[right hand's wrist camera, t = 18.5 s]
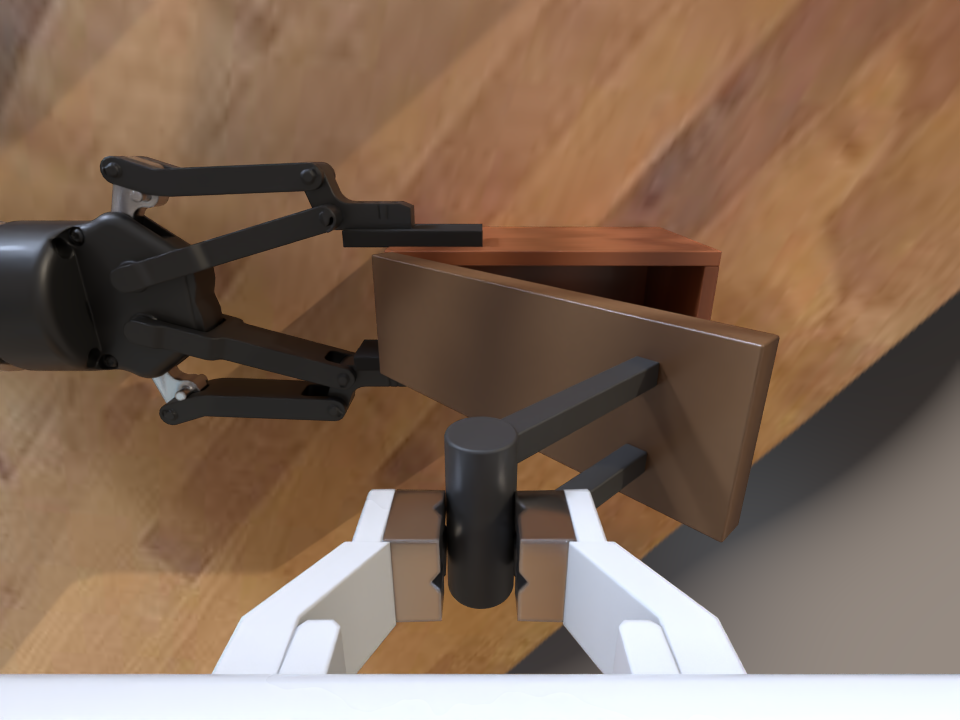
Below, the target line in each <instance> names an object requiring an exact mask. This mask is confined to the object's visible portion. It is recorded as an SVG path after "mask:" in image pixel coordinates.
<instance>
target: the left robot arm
mask: <svg viewBox="0 0 960 720" xmlns="http://www.w3.org/2000/svg"><path fill="white" fill-rule="evenodd" d="M100 171H101V173H102V175H103V177H104V178H105V179H106V180H107V181H108V182H110V183H112V184H113V194H112V210H111V212H107V213H104V214H102V215H100V216H99V217H97V218H96V219H94V220H92V221H12V222H3V221H0V371H17V370H24V369H26V370H34V371H98V370H113V369H121V370H126V371H129V372H132V373H134V374H136V375H138V376H141V377H144V378H152V379H153V381H154V383H155V385H156V386H157V388H158V390H159V391H160V393H161V395H162V396H163V398H164V400H165V402H166V404H165V405H164V406H163V407H161V409H160V412H159V415H160V417H161V419H162V420H163V421H164V422H165V423H167V424H170V425H177V424H180V423H183V422H187V421H190V420H193V419H197V418H200V417H203V416H215V417H242V418H268V419H295V420H322V421H338V420H340V419H342V418H343V417H344V415H345V413H346V412H347V410H348V408H349V406H350V404H351V402H352V400H353V398H354V396H355V391H356V389H357V388H360V387H365V386H391V387H397V386H399V387H407V386H405V385H403V384H401V383H399V382H397V381H395V380H393V379H391V378H389V377H387V376H385V375H383V374H381V373H380V362H379V348H378V340H364V341H363V343H362V344H361V346H360V347H359V348H358V350H357V351H356V353H354V352H350V351H347V350H343V349H339V348H335V347H332V346H328V345H324V344H320V343H316V342H313V341H309V340H305V339H301V338H298V337H294V336H290V335H286V334H282V333H279V332H275V331H271V330H267V329H264V328H260V327H256V326H252V325H248V324H245V323H244V322H243V320H241V319H239V318H236V317H232V316H228V315H225V314H222V312H221V307H220V304H219V302H218V300H217V298H216V296H215V293H214V287H215V273H214V268H213V267H214V266H217V265H220V264H224V263H227V262H230V261H234V260H237V259H240V258H243V257H247V256H250V255H253V254H257V253H260V252H263V251H267V250H270V249H273V248H277V247H280V246H283V245H286V244H290V243H293V242H296V241H300V240H303V239H306V238H310V237H313V236H316V235H320V234H323V233H326V232H327V233H328V232H330V231H332V230H343V231H342V236H343V247H483V228H482V224H415V220H414V205H411V204H409V203H407V202H404V201H352V200H349V199H347V198H346V197H345V196H344V195H343V194H342V193H341V191H340V189H339V187H338V184H337V182H336V180H335V172H334V169H333V168H332V167H331V166H330V165H329V164H327V163H324V162H307V163H283V164H260V165H236V166H212V167H189V168H180V167H177V166H174V165H171V164H168V163H164V162H161V161H158V160H155V159H152V158H149V157H144V156H108V157H105V158H104V159H103V160H102V161H101V164H100ZM295 191H305V193H306V195H307V197H308V200H309V202H310V204H311V206H312V208H311V209H307V210H304V211H301V212H298V213H294V214H291V215H288V216H285V217H281V218H278V219H275V220H272V221H268V222H265V223H262V224H259V225H255V226H252V227H249V228H246V229H242V230H239V231H236V232H233V233H229V234H226V235H223V236H220V237H216V238H213V239H210V240H207V241H203V242H200V243H197V244H194V245H190V244H188V243H187V242H185V241H184V240H182V239H181V238H179V237H177V236H176V235H174V234H173V233H171V232H170V231H168V230H166V229H165V228H163V227H162V226H160V225H159V224H157V223H156V222H154V221H152V220H151V219H149V218H148V217H146V216H145V215H144V213H145V211H146V209H147V208H151V207H157V206H162V205H164V204H166V203H167V201H168V199H169V197H175V196H199V195H223V194H247V193H271V192H295ZM189 356H193V357H197V358H201V359H205V360H219V359H223V360H227V361H231V362H235V363H239V364H243V365H247V366H251V367H255V368H258V369H262V370H266V371H270V372H274V373H278V374H282V375H286V376H290V377H294V378H297V379H301V380H305V381H298V380H273V379H247V378H219V379H213V380H209V381H208V379H207V377H206V376H205V375H203V374H200V375H197V374H186V373H183V372H182V371H181V370H179V368H178V367H177V365H178V364H180V363H181V362H182V361H183V360H185V359H186V358H187V357H189Z"/></svg>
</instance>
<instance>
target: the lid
mask: <svg viewBox="0 0 960 720" xmlns="http://www.w3.org/2000/svg"><path fill="white" fill-rule="evenodd" d="M372 265H373V279H374V293H375V307H376V321H377V334H378V348H379V362H380V373H381V374H383V375H385V376H387V377H389V378H391V379H393V380H395V381H397V382H399V383H401V384H403V385H405V386H407V387H409V388H411V389H413V390H415V391H417V392H419V393H421V394H423V395H425V396H427V397H429V398H431V399H433V400H435V401H437V402H439V403H441V404H443V405H445V406H447V407H449V408H451V409H453V410H455V411H457V412H459V413H461V414H463V415H465V416H467V417H469V418H465V419H461V420H459V421H456V422H454V423H453V424H451V425H450V426H449V427H448V428H447V430H446V432H445V435H444V443H445V482H446V521H447V559H448V586H449V590H450V592H451V594H452V595H453V597H454V598H455V599H456V600H457V601H458V602H460V603H461V604H463V605H465V606H467V607H471V608H476V609H486V608H491V607H494V606H497V605H499V604H501V603H502V602H504V601H505V600H506V599H507V598H508V596H509V595H510V593H511V592H512V589H513V582H514V573H513V535H514V532H515V527H514V497H515V491H516V490H517V463H519V462H521V461H523V460H525V459H526V458H528V457H530V456H532V455H534V454H535V453H537V452H540V453H542V454H544V455H546V456H548V457H550V458H552V459H554V460H556V461H558V462H560V463H562V464H564V465H566V466H568V467H570V468H572V469H574V470H576V471H578V472H580V474H579V475H577V476H576V477H574V478H573V479H571V480H570V481H568V482H567V483H565V484H563V485H562V486H560V487H559V488H557V489H556V490H567V489H588V490H589V491H590V493H591V496H592V498H593V501H594V504H595V507H596V508H597V507H599V506H600V505H601V504H603V503H604V502H605V501H607V500H608V499H609V498H611V497H612V496H613V495H615V494H616V493H617V492H620V493H622V494H624V495H626V496H628V497H630V498H632V499H634V500H636V501H639V502H641V503H643V504H645V505H647V506H649V507H651V508H653V509H655V510H657V511H659V512H661V513H663V514H665V515H667V516H669V517H671V518H673V519H675V520H677V521H679V522H681V523H683V524H685V525H687V526H689V527H691V528H693V529H695V530H697V531H699V532H701V533H703V534H705V535H707V536H709V537H711V538H713V539H715V540H717V541H719V542H723V541H724V540H725V539H726V537H727V536H728V535H729V534H730V533H731V532H732V531H733V530H734V529H735V527H736V526H737V525H738V523H739V518H740V514H741V509H742V504H743V500H744V496H745V491H746V487H747V482H748V477H749V473H750V469H751V464H752V460H753V455H754V451H755V446H756V442H757V437H758V433H759V428H760V424H761V419H762V415H763V410H764V405H765V401H766V396H767V392H768V387H769V383H770V378H771V374H772V369H773V365H774V360H775V356H776V351H777V347H778V342H779V336H778V335H775V334H770V333H766V332H761V331H756V330H752V329H747V328H742V327H738V326H733V325H728V324H724V323H719V322H715V321H710V320H705V319H701V318H696V317H691V316H687V315H682V314H677V313H673V312H668V311H663V310H659V309H654V308H649V307H645V306H640V305H635V304H631V303H626V302H622V301H617V300H612V299H608V298H603V297H598V296H594V295H589V294H584V293H580V292H575V291H570V290H566V289H561V288H556V287H552V286H547V285H543V284H538V283H533V282H529V281H524V280H519V279H515V278H510V277H505V276H501V275H496V274H491V273H487V272H482V271H477V270H473V269H468V268H464V267H459V266H454V265H450V264H445V263H440V262H436V261H431V260H426V259H422V258H417V257H412V256H408V255H403V254H398V253H394V252H389V253H381V254H374V255H372Z"/></svg>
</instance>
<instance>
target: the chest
mask: <svg viewBox="0 0 960 720" xmlns="http://www.w3.org/2000/svg"><path fill="white" fill-rule="evenodd" d="M482 228H483V247H388V248H387V249H386V250H385V251H384V253H389V252H394V253H398V254H403V255H408V256H412V257H417V258H422V259H426V260H431V261H436V262H440V263H445V264H450V265H454V266H459V267H464V268H468V269H473V270H477V271H482V272H487V273H491V274H496V275H501V276H505V277H510V278H515V279H519V280H524V281H529V282H533V283H538V284H543V285H547V286H552V287H556V288H561V289H566V290H570V291H575V292H580V293H584V294H589V295H594V296H598V297H603V298H608V299H612V300H617V301H622V302H626V303H631V304H635V305H640V306H645V307H649V308H654V309H659V310H663V311H668V312H673V313H677V314H682V315H687V316H691V317H696V318H701V319H705V320H710V319H711V313H712V307H713V301H714V295H715V289H716V283H717V277H718V271H719V265H720V259H721V253H722V252H721V251H719V250H716V249H714V248H711V247H709V246H706V245H703V244H701V243H698V242H696V241H693V240H691V239H688V238H686V237H683V236H680V235H678V234H675V233H673V232H670V231H668V230H665V229H663V228H660V227H482Z"/></svg>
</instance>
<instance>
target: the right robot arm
mask: <svg viewBox="0 0 960 720" xmlns="http://www.w3.org/2000/svg"><path fill="white" fill-rule="evenodd" d="M445 518H446V493H445V490H408V489H397V490H395V489H372V490H371V491H370V492H369V493H368V496H367V499H366V502H365V504H364V507H363V510H362V513H361V516H360V519H359V522H358V525H357V528H356V531H355V534H354V537H353V540H352V542H344V543H342V544H341V545H339V546H338V547H337V548H335V549H334V550H333V551H331V552H330V553H329V554H327V555H326V556H324V557H323V558H322V559H320V560H319V561H318V562H316V563H315V564H314V565H312V566H311V567H309V568H308V569H307V570H305V571H304V572H303V573H301V574H300V575H299V576H297V577H296V578H294V579H293V580H292V581H290V582H289V583H288V584H286V585H285V586H284V587H282V588H281V589H280V590H278V591H277V592H275V593H274V594H273V595H271V596H270V597H269V598H267V599H266V600H265V601H263V602H262V603H260V604H259V605H258V606H256V607H255V608H254V609H252V610H251V611H250V612H248V613H247V614H245V615H244V616H243V617H241V619H240V621H239V623H238V625H237V627H236V629H235V631H234V633H233V634H232V636H231V638H230V640H229V642H228V644H227V646H226V648H225V650H224V651H223V653H222V655H221V657H220V659H219V661H218V663H217V665H216V667H215V668H214V670H213V672H212V674H0V720H960V674H747V673H746V671H745V669H744V667H743V665H742V663H741V661H740V659H739V657H738V655H737V653H736V652H735V650H734V648H733V646H732V644H731V642H730V640H729V638H728V636H727V634H726V632H725V631H724V629H723V627H722V625H721V623H720V621H719V619H718V618H717V617H716V616H714V615H713V614H712V613H710V612H709V611H708V610H706V609H705V608H704V607H702V606H701V605H700V604H698V603H697V602H695V601H694V600H693V599H691V598H690V597H689V596H687V595H686V594H685V593H683V592H682V591H681V590H679V589H678V588H676V587H675V586H674V585H672V584H671V583H670V582H668V581H667V580H666V579H664V578H663V577H662V576H660V575H659V574H658V573H656V572H655V571H653V570H652V569H651V568H649V567H648V566H647V565H645V564H644V563H643V562H641V561H640V560H639V559H637V558H636V557H635V556H633V555H632V554H630V553H629V552H628V551H626V550H625V549H624V548H622V547H621V546H620V545H618V544H617V543H616V542H607V539H606V536H605V534H604V531H603V528H602V525H601V522H600V519H599V516H598V513H597V510H596V507H595V504H594V501H593V498H592V496H591V493H590V491H589V490H588V489H567V490H540V491H515V497H514V527H515V532H514V535H513V573H514V576H515V597H516V608H517V619H518V621H538V622H563V625H564V626H565V627H566V629H567V630H568V631H569V632H570V634H571V635H572V636H573V637H574V638H575V640H576V641H577V642H578V643H579V645H580V646H581V647H582V648H583V650H584V651H585V652H586V653H587V655H588V656H589V657H590V658H591V659H592V661H593V662H594V663H595V664H596V666H597V667H598V668H599V669H600V671H601V672H602V673H603V674H357V672H358V671H359V670H360V669H361V667H362V666H363V665H364V664H365V662H366V661H367V660H368V659H369V658H370V656H371V655H372V654H373V653H374V651H375V650H376V649H377V648H378V646H379V645H380V644H381V643H382V642H383V640H384V639H385V638H386V637H387V635H388V634H389V633H390V632H391V630H392V629H393V628H394V627H395V626H396V622H420V621H442V610H443V600H444V576H445V575H446V561H447V526H446V525H445Z"/></svg>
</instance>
